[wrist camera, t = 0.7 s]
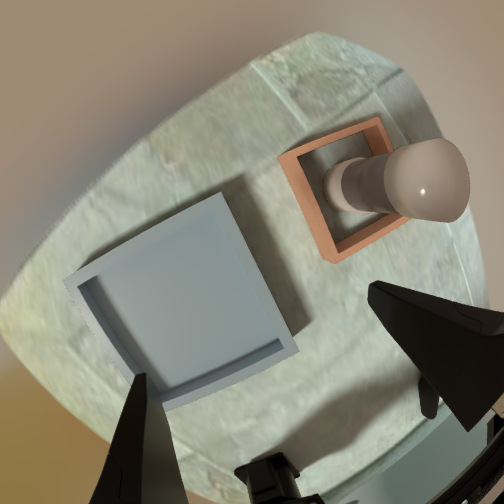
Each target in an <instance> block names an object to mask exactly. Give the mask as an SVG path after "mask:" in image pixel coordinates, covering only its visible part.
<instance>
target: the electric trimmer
mask: <svg viewBox="0 0 504 504" xmlns="http://www.w3.org/2000/svg"><path fill="white" fill-rule="evenodd" d="M418 390H419V398H420V406H421V413H422V414H423V415H424V416H425V417H427V418H429V419H434V418H435V417H436V415H437V409H438V403H439V397H440V395H439V394H438V393H437V391H436V390H435V389H434V388H433V386H432V385H431V384H430V383H429V381H428V380H427V379H426V378H425V376H424V375H423V374H422V378H421V380H420V382H419V383H418Z"/></svg>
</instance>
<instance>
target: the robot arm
mask: <svg viewBox="0 0 504 504" xmlns="http://www.w3.org/2000/svg"><path fill="white" fill-rule="evenodd" d="M367 300H368V304H369V305H370V307H371V308H372V310H373V311H374V313H375V314H376V315H377V317H378V318H379V320H380V321H381V323H382V324H383V326H384V327H385V329H386V330H387V331H388V333H389V334H390V335H391V336H392V337H393V339H394V340H395V341H396V342H397V343H398V345H399V346H400V347H401V348H402V349H403V351H404V352H405V353H406V354H407V355H408V357H409V358H410V359H411V360H412V362H413V363H414V364H415V365H416V366H417V368H418V369H419V370H420V371H421V373H422V374H423V375H424V376H425V378H426V379H427V380H428V381H429V383H430V384H431V385H432V386H433V388H434V389H435V390H436V391H437V393H438V394H439V395H440V397H441V398H442V399H443V401H444V402H445V403H446V405H447V406H448V407H449V409H450V410H451V411H452V412H453V413H454V415H455V416H456V418H457V419H458V420H459V422H460V423H461V424H462V426H463V427H464V429H465V430H466V431H467V432H469V431H470V430H471V429H472V428H473V427H474V426H475V425H476V424H477V423H478V422H479V421H480V420H481V419H482V417H483V416H484V415H485V414H486V413H487V412H488V411H489V410H490V409H492V410H493V411H494V412H495V413H496V414H495V415H494V416H493V417H492V418H491V420H490V421H489V422H488V423H487V427H488V428H487V446H486V447H485V448H484V450H482V452H481V453H480V454H479V455H478V456H477V457H476V458H475V459H474V460H473V461H472V462H471V463H470V464H469V465H468V466H467V467H466V468H465V469H464V470H463V471H462V472H461V473H460V474H459V475H458V476H457V477H456V478H455V479H454V480H453V481H452V482H451V483H449V484H448V485H447V486H446V487H445V488H444V489H443V490H441V492H439V493H438V494H437V495H436V496H434V497H433V498H432V499H431V500H429V501H428V502H427V503H426V504H461V503H462V502H463V501H465V500H467V501H468V503H467V504H504V312H498V311H493V310H488V309H483V308H478V307H473V306H469V305H465V304H461V303H458V302H454V301H453V302H452V301H450V300H447V299H443V298H440V297H436V296H433V295H429V294H426V293H422V292H419V291H415V290H411V289H408V288H404V287H401V286H397V285H394V284H390V283H386V282H383V281H379V280H377V281H375V282H373V283H371V284H370V285H369V288H368V298H367ZM108 453H109V454H108V455H107V458H106V461H105V464H104V467H103V470H102V473H101V476H100V478H99V481H98V484H97V486H96V488H95V490H94V493H93V495H92V498H91V500H90V502H89V504H189V503H188V499H187V496H186V492H185V489H184V485H183V482H182V478H181V474H180V470H179V466H178V462H177V458H176V454H175V450H174V446H173V441H172V436H171V432H170V427H169V424H168V421H167V417H166V414H165V411H164V408H163V405H162V402H161V398H160V395H159V392H158V389H157V386H156V384H155V383H154V381H153V380H152V379H151V377H150V376H149V374H148V373H147V372H142V373H139V374H136V375H135V377H134V380H133V382H132V385H131V388H130V391H129V393H128V396H127V399H126V402H125V404H124V407H123V410H122V413H121V416H120V419H119V421H118V424H117V427H116V430H115V433H114V436H113V439H112V442H111V446H110V449H109V452H108ZM234 475H235V476H236V477H238V478H239V479H240V480H241V481H242V482H243V483H244V484H246V485H247V489H248V493H249V498H250V503H251V504H325V503H324V502H323V500H322V499H321V497H320V496H319V495H318V493H317V494H313V495H311V496H307V497H301V494H300V492H299V489H298V487H297V484H296V481H295V479H296V478H298V477H299V476H300V473H299V472H298V470H297V469H296V468H295V467H294V466H293V464H292V463H291V462H290V461H289V460H288V458H287V457H286V456H285V455H284V453H278V454H275V455H273V456H271V457H268V458H266V459H263V460H261V461H258V462H255V463H253V464H250V465H247V466H245V467H242V468H239V469H236V470H234Z"/></svg>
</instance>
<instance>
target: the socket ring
mask: <svg viewBox="0 0 504 504" xmlns="http://www.w3.org/2000/svg"><path fill="white" fill-rule="evenodd" d="M360 131H363V133H364V135H365V137H366V139H367V142H368V144H369V146H370V148H371V151H372V153H373V155H374V156H377V155H381V154H385V153H389V152H393V151H394V149H393V147H392V145H391V142H390V140H389V137H388V135H387V133H386V131H385V128H384V126H383V124H382V122H381V120H380V117H376V118H373V119H370V120H367V121H365V122H362V123H359V124H356V125H354V126H351V127H348V128H345V129H343V130H340V131H337V132H335V133H332V134H330V135H327V136H325V137H322V138H319V139H317V140H314V141H312V142H310V143H307V144H305V145H302V146H300V147H297V148H295V149H293V150H290V151H288V152H286V153H284V154H282V155H281V156H279V157H278V160H279V162H280V164H281V167H282V169H283V171H284V173H285V175H286V177H287V179H288V181H289V183H290V186H291V188H292V190H293V192H294V194H295V196H296V199H297V201H298V203H299V205H300V208H301V210H302V212H303V214H304V217H305V219H306V221H307V223H308V226H309V228H310V230H311V233H312V235H313V237H314V240H315V242H316V244H317V247H318V249H319V251H320V254H321V256H322V259H324V260H327V261H329V262H331V263H333V264H336V263H338V262H340V261H341V260H343V259H345V258H347V257H348V256H350V255H352V254H354V253H355V252H357V251H359V250H361V249H362V248H364V247H366V246H367V245H369V244H371V243H373V242H374V241H376V240H378V239H379V238H381V237H383V236H384V235H386V234H388V233H389V232H391V231H393V230H394V229H396V228H398V227H399V226H401V225H402V224H404V223H406V222H407V221H409V220H411V218H407V217H404V216H402V215H401V214H392V213H390V214H388V215H386V216H384V217H383V218H381V219H379V220H377V221H376V222H374V223H372V224H370V225H369V226H367V227H365V228H363V229H361V230H360V231H358V232H356V233H354V234H352V235H351V236H349V237H347V238H345V239H343V240H342V241H340V242H338V243H336V244H334V242H333V239H332V237H331V234H330V232H329V229H328V227H327V225H326V222H325V220H324V217H323V215H322V213H321V210H320V208H319V206H318V203H317V201H316V199H315V197H314V194H313V192H312V190H311V188H310V185H309V183H308V181H307V179H306V177H305V174H304V172H303V170H302V168H301V166H300V164H299V161H298V159H297V157H299V156H301V155H303V154H306V153H308V152H310V151H313V150H315V149H317V148H320V147H322V146H325V145H327V144H330V143H332V142H335V141H337V140H340V139H342V138H345V137H347V136H350V135H352V134H355V133H358V132H360Z"/></svg>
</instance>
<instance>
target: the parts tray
mask: <svg viewBox="0 0 504 504" xmlns="http://www.w3.org/2000/svg"><path fill="white" fill-rule="evenodd" d="M62 281H63V283H64V285H65V287H66V288H67V290H68V292H69V294H70V296H71V298H72V299H73V301H74V303H75V305H76V306H77V308H78V310H79V311H80V313H81V315H82V316H83V318H84V320H85V321H86V323H87V324H88V326H89V328H90V329H91V331H92V332H93V334H94V335H95V337H96V339H97V340H98V342H99V343H100V345H101V346H102V347H103V349H104V350H105V352H106V353H107V355H108V356H109V358H110V359H111V360H112V362H113V363H114V364H115V366H116V367H117V369H118V370H119V371H120V373H121V374H122V375H123V377H124V378H125V379H126V381H127V382H128V383H129V384H130V386H131V385H132V382H133V380H134V377H135V375H136V374H139V373H142V372H147V373H148V374H149V376H150V377H151V379H152V380H153V381H154V383H155V384H156V386H157V389H158V392H159V395H160V398H161V402H162V405H163V408H164V411H165V412H167V411H169V410H172V409H175V408H177V407H180V406H183V405H185V404H188V403H190V402H193V401H195V400H198V399H200V398H203V397H205V396H207V395H210V394H212V393H215V392H217V391H219V390H222V389H224V388H226V387H228V386H231V385H233V384H235V383H237V382H239V381H242V380H244V379H246V378H248V377H250V376H252V375H254V374H257V373H259V372H261V371H263V370H265V369H267V368H269V367H271V366H273V365H275V364H277V363H279V362H281V361H283V360H285V359H287V358H288V357H290V356H292V355H294V354H296V353H298V352H300V351H299V349H298V347H297V345H296V343H295V341H294V339H293V337H292V335H291V333H290V331H289V329H288V327H287V325H286V323H285V321H284V319H283V317H282V315H281V313H280V311H279V309H278V307H277V305H276V303H275V301H274V299H273V297H272V295H271V292H270V290H269V288H268V286H267V284H266V282H265V280H264V278H263V276H262V274H261V272H260V270H259V268H258V266H257V264H256V262H255V260H254V258H253V256H252V254H251V252H250V250H249V248H248V246H247V244H246V242H245V240H244V238H243V236H242V234H241V232H240V229H239V227H238V225H237V223H236V221H235V219H234V217H233V215H232V213H231V211H230V209H229V207H228V205H227V203H226V201H225V199H224V197H223V195H222V193H221V192H219V193H217V194H215V195H213V196H211V197H209V198H207V199H205V200H203V201H201V202H199V203H197V204H195V205H193V206H191V207H189V208H187V209H185V210H183V211H181V212H179V213H178V214H176V215H174V216H172V217H170V218H168V219H166V220H164V221H163V222H161V223H159V224H157V225H155V226H153V227H152V228H150V229H148V230H146V231H144V232H142V233H141V234H139V235H137V236H135V237H134V238H132V239H130V240H128V241H127V242H125V243H123V244H121V245H120V246H118V247H116V248H114V249H113V250H111V251H109V252H108V253H106V254H104V255H103V256H101V257H99V258H98V259H96V260H94V261H93V262H91V263H89V264H88V265H86V266H84V267H83V268H81V269H80V270H78V271H76V272H75V273H73V274H72V275H70V276H68V277H67V278H65V279H64V280H62Z"/></svg>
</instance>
